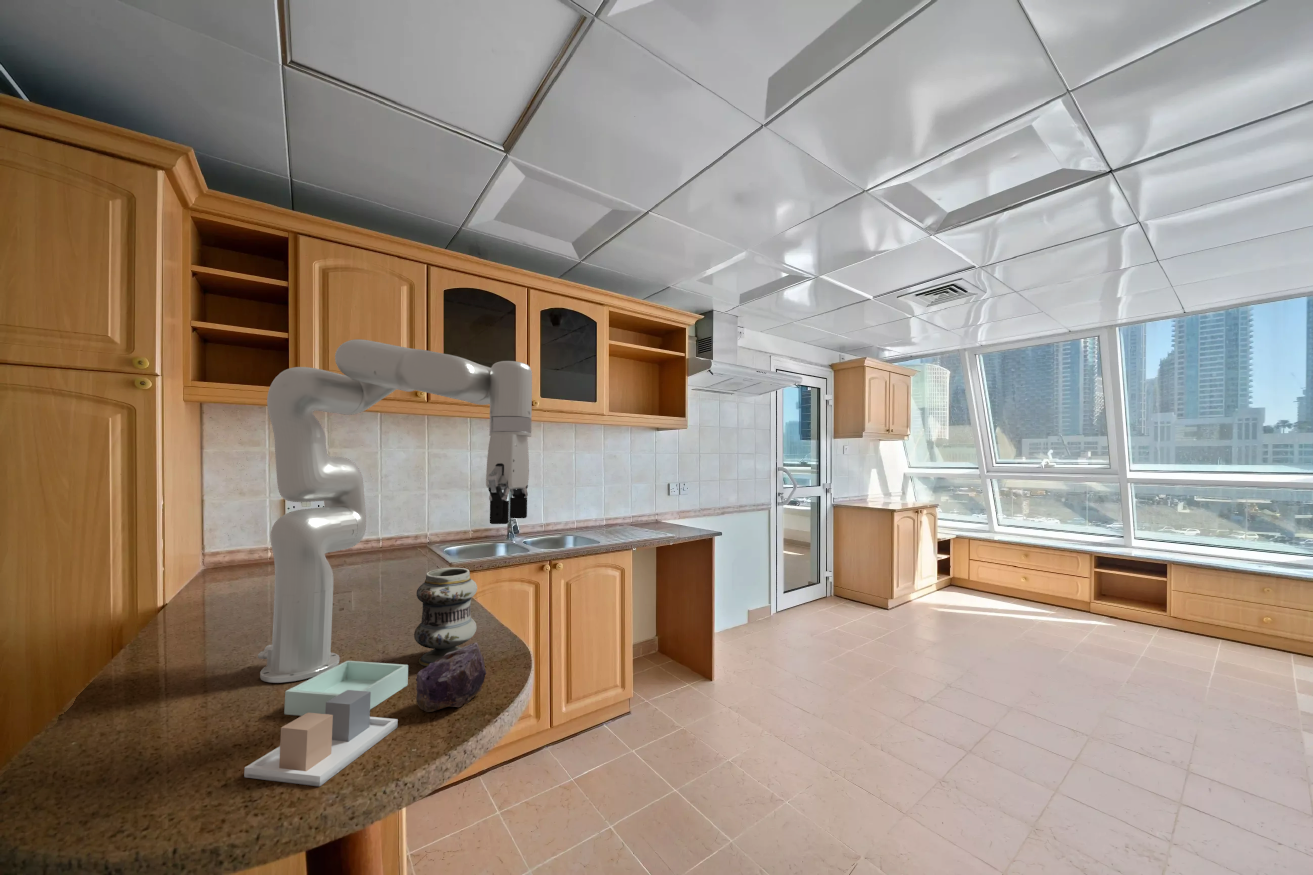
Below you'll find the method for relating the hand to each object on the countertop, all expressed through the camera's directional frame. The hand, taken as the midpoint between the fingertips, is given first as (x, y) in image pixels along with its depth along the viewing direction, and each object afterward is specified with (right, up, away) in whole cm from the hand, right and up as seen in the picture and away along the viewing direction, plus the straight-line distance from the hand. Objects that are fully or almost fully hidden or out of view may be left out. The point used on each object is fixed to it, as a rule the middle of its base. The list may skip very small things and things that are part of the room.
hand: (509, 520), depth 89 cm
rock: (-7, -30, -7) cm, 32 cm away
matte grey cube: (-19, -29, -17) cm, 38 cm away
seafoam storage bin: (-26, -30, -5) cm, 40 cm away
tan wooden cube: (-20, -28, -24) cm, 42 cm away
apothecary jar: (-17, -31, +12) cm, 38 cm away
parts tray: (-19, -29, -21) cm, 40 cm away
